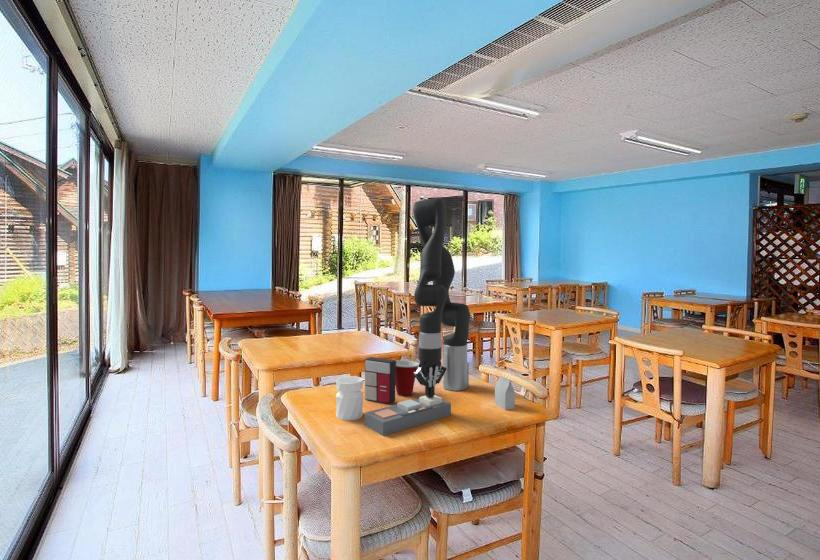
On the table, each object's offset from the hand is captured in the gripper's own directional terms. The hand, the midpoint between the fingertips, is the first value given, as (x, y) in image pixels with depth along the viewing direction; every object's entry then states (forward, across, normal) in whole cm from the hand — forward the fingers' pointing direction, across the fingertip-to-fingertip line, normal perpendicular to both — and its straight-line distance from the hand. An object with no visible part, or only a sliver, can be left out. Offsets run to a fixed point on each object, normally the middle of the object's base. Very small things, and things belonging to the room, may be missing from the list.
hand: (429, 397), depth 155 cm
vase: (+6, +22, -15) cm, 27 cm away
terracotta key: (+4, +18, 0) cm, 18 cm away
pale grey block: (+6, -25, +10) cm, 28 cm away
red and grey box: (+6, +6, -21) cm, 22 cm away
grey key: (+3, +9, 0) cm, 9 cm away
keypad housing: (+6, +9, 0) cm, 10 cm away
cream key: (+3, 0, 0) cm, 3 cm away
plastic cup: (+6, -6, -22) cm, 23 cm away
